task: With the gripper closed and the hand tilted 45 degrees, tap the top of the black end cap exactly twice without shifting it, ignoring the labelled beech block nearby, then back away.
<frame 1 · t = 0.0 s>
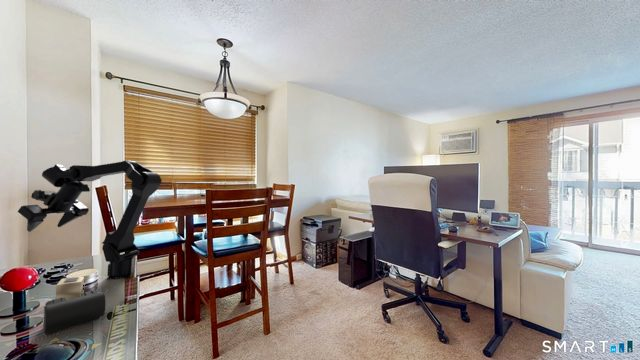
hand: (44, 228, 89), 15 cm above the table, tool tilted 35°, fingers open, 9 cm apart
beech block: (70, 297, 71), on the table
end cap: (73, 326, 58), on the table
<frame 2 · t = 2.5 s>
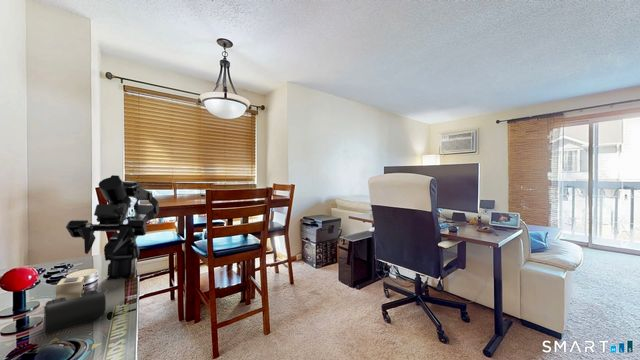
hand: (99, 252, 70), 14 cm above the table, tool tilted 45°, fingers open, 6 cm apart
nothing on the table moved.
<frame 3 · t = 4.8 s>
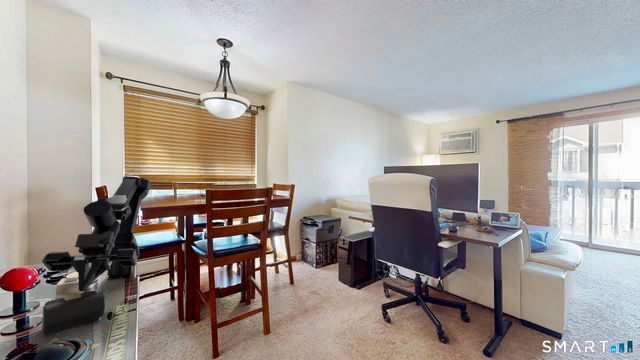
hand: (81, 290, 61), 7 cm above the table, tool tilted 45°, fingers closed
nothing on the table moved.
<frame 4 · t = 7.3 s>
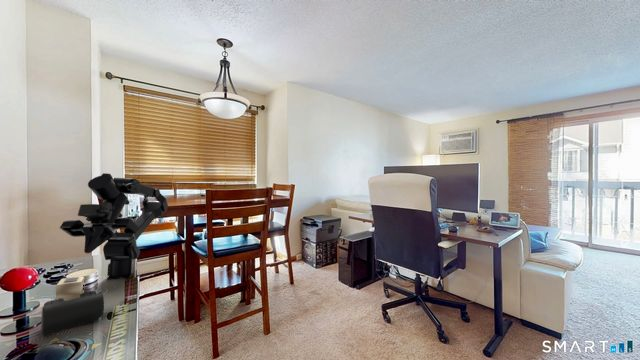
hand: (86, 252, 70), 14 cm above the table, tool tilted 40°, fingers closed
nothing on the table moved.
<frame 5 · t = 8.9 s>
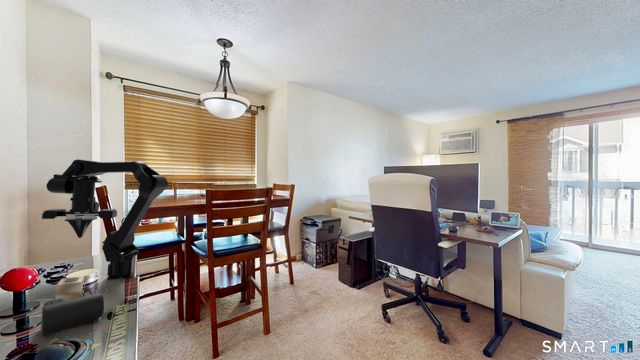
hand: (80, 237, 87), 13 cm above the table, tool pointing down, fingers closed
nothing on the table moved.
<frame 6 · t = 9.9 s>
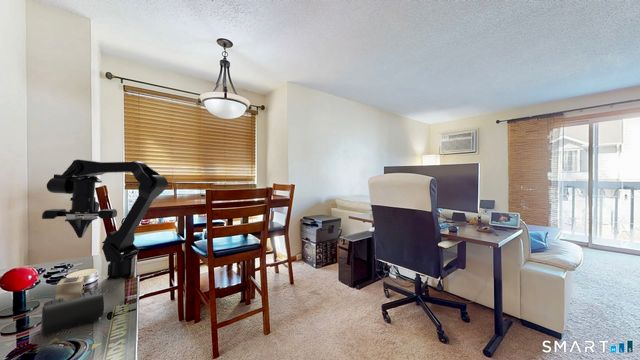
hand: (80, 237, 87), 13 cm above the table, tool pointing down, fingers closed
nothing on the table moved.
at the end: end cap moved 0.6 cm from its start; end cap tilted 0°; end cap touching table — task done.
